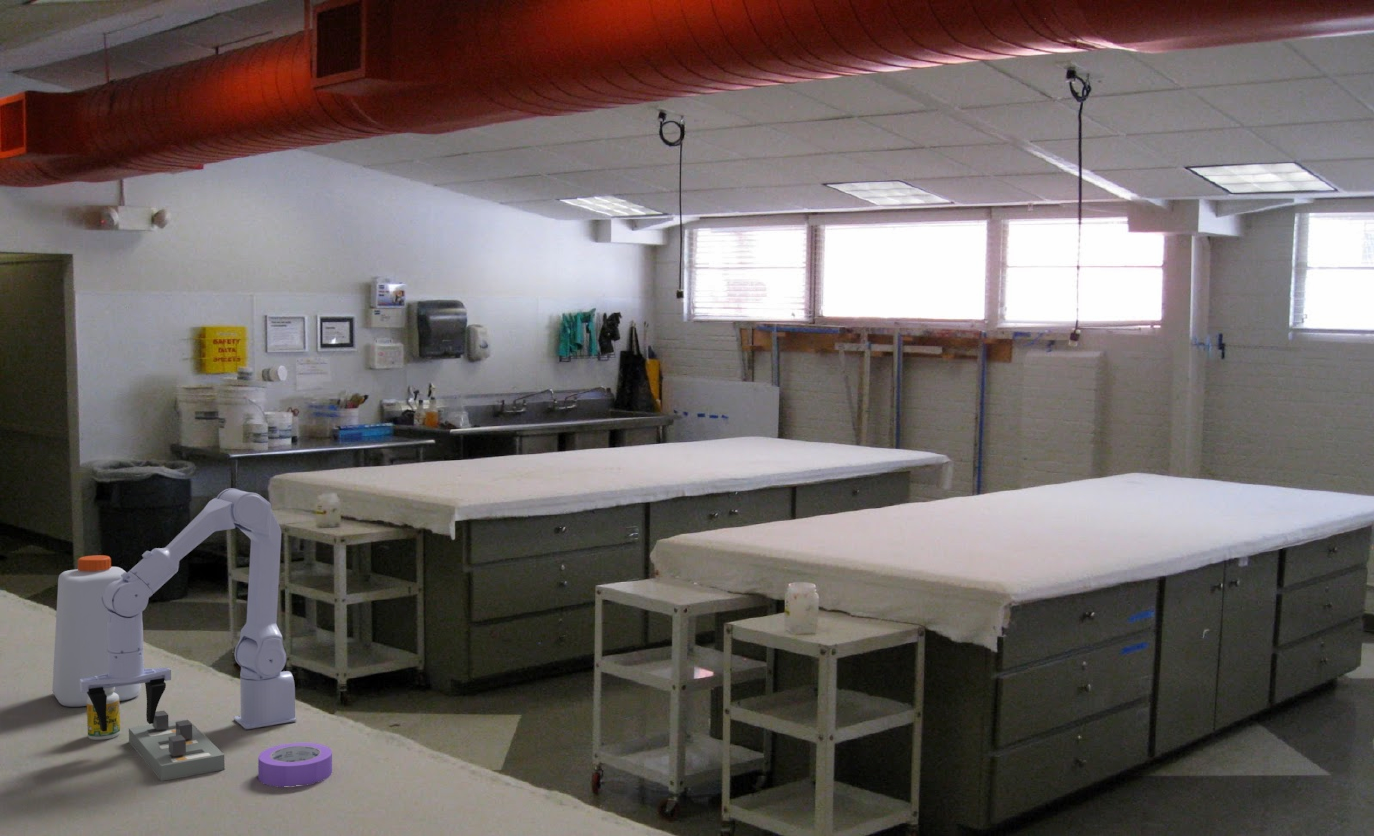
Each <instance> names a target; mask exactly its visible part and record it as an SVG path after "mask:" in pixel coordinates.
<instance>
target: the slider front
mask: <svg viewBox="0 0 1374 836" xmlns="http://www.w3.org/2000/svg"><path fill="white" fill-rule="evenodd" d="M169 752H170V753H171V755H172V756H179V755H185V754H186V739H185V738H184V737H183V736H182V735H177V736H171V737H169Z"/></svg>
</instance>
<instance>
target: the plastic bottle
mask: <svg viewBox="0 0 1374 836" xmlns="http://www.w3.org/2000/svg"><path fill="white" fill-rule="evenodd" d="M124 572H127V571H126V570H124V569H123V568H121V567H119V566H112V558H111V557H110V556H109V555H103V554H102V555H100V554H99V555H98V554H96V555H86V556H82V557H79V558H78V559H77V569H70V570H64V571H63V572H61V573H60V574H59V575H58V579H57V597H56V615H55V633H54V634H55V635H54V637H55V638H54V651H53V652H54V653H53V654H54V656H53V669H52V670H53V674H52V675H53V676H52V693H53V696H55V698H56V700H57V701H58V703H59V704H61V705H62V706H64V707H70V708H79V707H80V708H81V707H87V699H88V697H89V696H88V694H87V692H84V693H82V692H81V691H80V679H85V678H90V677H95V676H99V675H104V674H108V650H107V609H106V608H105V607H104V606H103V604H102V602H101V597H102V596H103V593H105V591H104V590H105V588H106V587H107V586H108V585H109V584H110V583H112V582H113V581H118V580H123V579H122V577H121V575H122V574H123V573H124ZM141 691H142V683H140V684H133V685H126V686H119V687H115V690H114V691H113V692H114V693H116V694H118V696H119V702H123V701H128V700H131V699H134V698H136V697H137V696H138V695H139V694H140V693H141Z"/></svg>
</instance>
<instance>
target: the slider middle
mask: <svg viewBox="0 0 1374 836" xmlns="http://www.w3.org/2000/svg"><path fill="white" fill-rule="evenodd" d="M188 720H189V719H188ZM188 720H183V721H177V722H176V736H177V735H182V736H183V737H184V738H185V739H192V724H193V723H192V722H191V721H190V720H189V721H190V722H191V723H192V724H191V723H190V722H189V721H188Z"/></svg>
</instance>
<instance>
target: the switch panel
mask: <svg viewBox="0 0 1374 836" xmlns="http://www.w3.org/2000/svg"><path fill="white" fill-rule="evenodd" d="M183 720H188V721H189V722H190V723H191V724H192V739H186V754H185V755H179V756H172V755H171V753H170V752H169V737H171V736H176V722H177V721H183ZM168 726H169V729H162V730H156V729H155V728H154V727H153V724H145V725H138V726H133V727H128V743H130V745H131V746H132V747H133V749H134V750H135V751H136V752H137V753H138V754H139V756H140V757H141V758H142V759H143V761H144V762H145V763H146V764H147V765H148V766H149V768H150V770H152V771H153V773H154V774H155V775H156V776H157V777H158V779H159V781H161V782H165V781H169V780H173V779H180V778H186V777H191V776H196V775H200V774H201V775H202V774H207V773H212V772H218V771H224V770H225V769H226V768H225V753H223V752H222V751H221V749H219V748H218V747H217V745H215V744H214V743H213V742H212V741H211V740H210V739H209V738H208V737H207V736H206V735H205V734H204V733H202V731H201V730H200V729H198V727H197V726H196V725H194V723H192V721H190V719H188V718H183V719H175V720H170V721H169V720H168Z"/></svg>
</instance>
